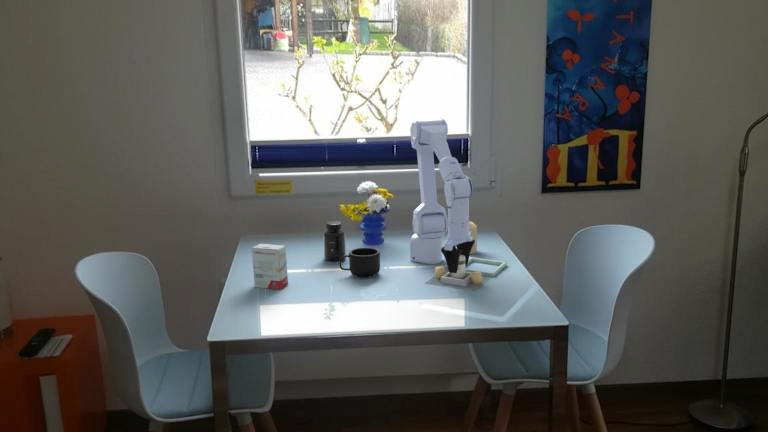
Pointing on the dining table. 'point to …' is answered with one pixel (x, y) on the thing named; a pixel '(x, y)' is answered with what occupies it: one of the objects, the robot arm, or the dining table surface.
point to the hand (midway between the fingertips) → (458, 268)
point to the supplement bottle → (334, 242)
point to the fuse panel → (469, 283)
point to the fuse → (460, 269)
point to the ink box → (270, 266)
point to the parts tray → (484, 273)
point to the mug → (363, 262)
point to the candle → (473, 236)
